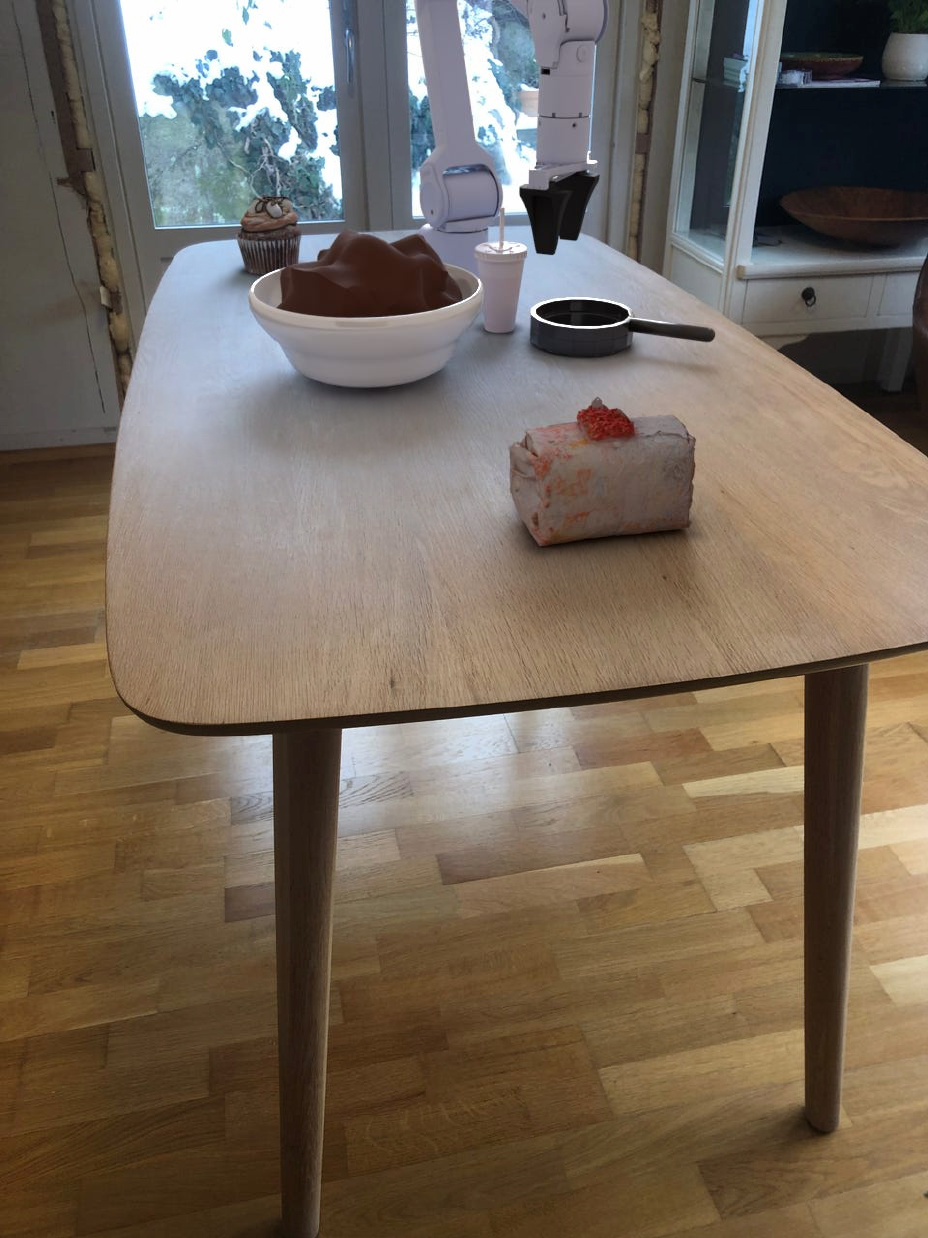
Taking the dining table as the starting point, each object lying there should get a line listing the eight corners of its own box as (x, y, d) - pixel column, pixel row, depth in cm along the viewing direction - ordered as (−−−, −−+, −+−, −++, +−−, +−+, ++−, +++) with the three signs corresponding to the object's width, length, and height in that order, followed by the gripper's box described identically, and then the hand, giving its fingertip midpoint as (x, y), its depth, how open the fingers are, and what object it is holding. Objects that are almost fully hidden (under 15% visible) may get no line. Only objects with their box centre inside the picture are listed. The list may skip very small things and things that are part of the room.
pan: (514, 349, 113) (515, 319, 111) (550, 320, 122) (552, 292, 120) (613, 364, 108) (616, 333, 106) (643, 333, 117) (646, 304, 116)
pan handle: (622, 332, 111) (623, 318, 111) (626, 328, 113) (627, 315, 112) (712, 344, 108) (714, 330, 107) (715, 340, 109) (717, 326, 108)
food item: (528, 557, 73) (533, 436, 67) (503, 509, 79) (505, 395, 74) (695, 538, 75) (714, 420, 69) (657, 493, 81) (671, 382, 76)
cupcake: (251, 258, 148) (243, 189, 142) (312, 261, 147) (306, 191, 141) (230, 275, 140) (220, 201, 135) (294, 277, 139) (287, 203, 133)
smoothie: (526, 321, 122) (530, 203, 114) (523, 337, 116) (528, 215, 108) (476, 319, 122) (477, 202, 114) (471, 335, 117) (472, 213, 109)
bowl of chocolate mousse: (212, 374, 106) (190, 230, 97) (377, 323, 121) (371, 195, 112) (363, 435, 92) (353, 274, 83) (529, 370, 107) (535, 227, 98)
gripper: (576, 125, 96) (568, 264, 104) (619, 109, 107) (609, 236, 115) (511, 121, 99) (508, 257, 107) (561, 106, 110) (554, 231, 117)
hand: (557, 246), depth 111 cm, fingers open, 7 cm apart
